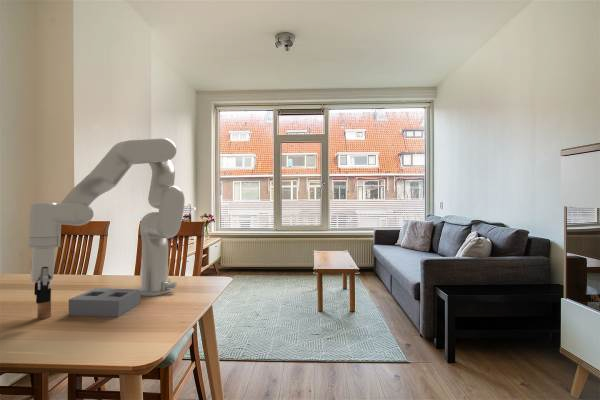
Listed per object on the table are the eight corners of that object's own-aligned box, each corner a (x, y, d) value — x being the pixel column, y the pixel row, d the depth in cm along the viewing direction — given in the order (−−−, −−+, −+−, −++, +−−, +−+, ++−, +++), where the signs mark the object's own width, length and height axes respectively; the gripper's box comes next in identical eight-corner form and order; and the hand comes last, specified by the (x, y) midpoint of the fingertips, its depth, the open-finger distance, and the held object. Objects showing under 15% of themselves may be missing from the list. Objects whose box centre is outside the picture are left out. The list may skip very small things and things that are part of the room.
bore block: (139, 303, 107) (140, 289, 107) (118, 316, 95) (118, 301, 95) (95, 302, 107) (95, 288, 107) (68, 315, 95) (68, 299, 95)
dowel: (53, 315, 95) (54, 283, 95) (44, 319, 92) (45, 286, 91) (43, 315, 95) (44, 283, 95) (34, 319, 92) (35, 286, 92)
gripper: (27, 239, 97) (24, 293, 96) (29, 246, 84) (26, 308, 84) (57, 238, 102) (55, 289, 101) (63, 245, 89) (60, 303, 89)
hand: (42, 298), depth 93 cm, fingers open, 9 cm apart
